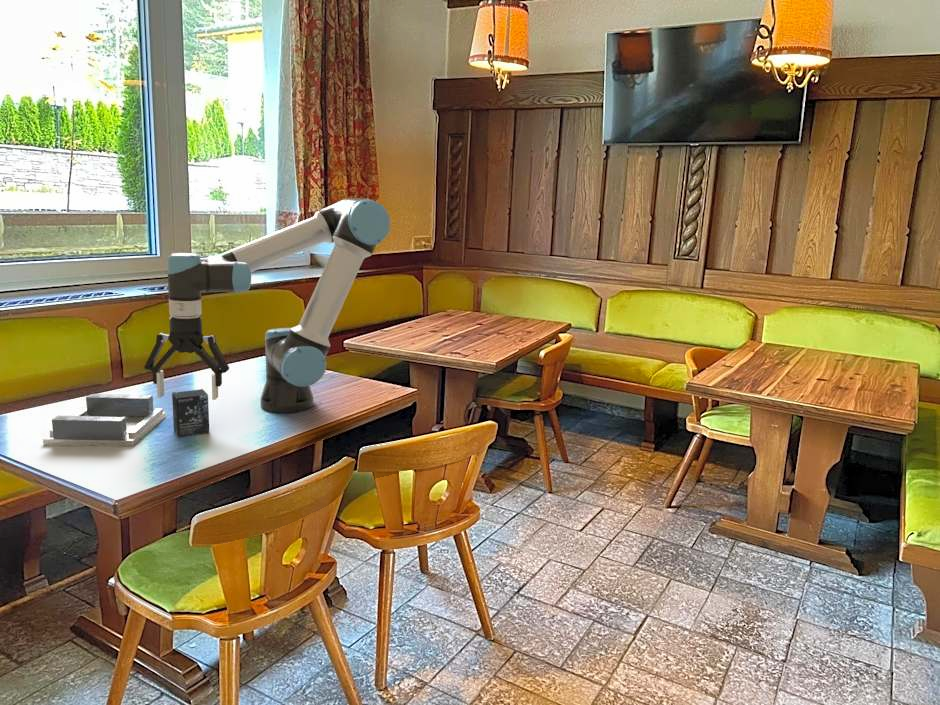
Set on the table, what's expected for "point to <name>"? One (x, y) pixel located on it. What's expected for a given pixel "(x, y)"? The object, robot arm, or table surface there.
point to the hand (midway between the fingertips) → (188, 397)
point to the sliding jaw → (119, 405)
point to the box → (190, 412)
